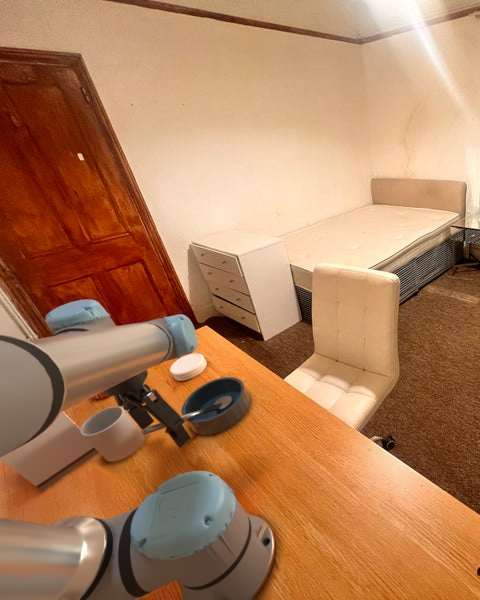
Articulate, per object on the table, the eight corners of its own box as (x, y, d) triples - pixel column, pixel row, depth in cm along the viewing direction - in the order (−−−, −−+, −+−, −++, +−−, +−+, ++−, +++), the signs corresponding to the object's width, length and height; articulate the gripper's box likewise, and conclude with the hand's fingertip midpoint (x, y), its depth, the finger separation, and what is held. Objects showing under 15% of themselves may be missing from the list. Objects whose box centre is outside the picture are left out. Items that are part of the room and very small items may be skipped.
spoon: (226, 398, 92) (209, 368, 85) (237, 402, 90) (222, 372, 84) (160, 459, 76) (134, 428, 70) (173, 466, 75) (147, 435, 68)
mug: (152, 438, 82) (131, 411, 77) (118, 467, 76) (91, 440, 70) (126, 425, 87) (103, 398, 81) (90, 451, 80) (63, 425, 74)
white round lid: (204, 356, 110) (200, 348, 108) (210, 370, 103) (206, 363, 102) (172, 370, 105) (167, 362, 103) (176, 386, 98) (171, 378, 96)
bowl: (218, 444, 79) (209, 429, 76) (178, 426, 85) (168, 412, 82) (262, 398, 91) (256, 384, 88) (224, 385, 97) (217, 371, 94)
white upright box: (84, 433, 85) (-13, 333, 67) (100, 450, 80) (-1, 347, 62) (28, 469, 77) (-101, 366, 59) (41, 491, 72) (-95, 386, 54)
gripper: (175, 371, 62) (215, 436, 73) (103, 345, 70) (149, 407, 82) (136, 399, 56) (186, 465, 67) (62, 368, 65) (118, 430, 76)
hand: (166, 433), depth 74 cm, fingers open, 13 cm apart
